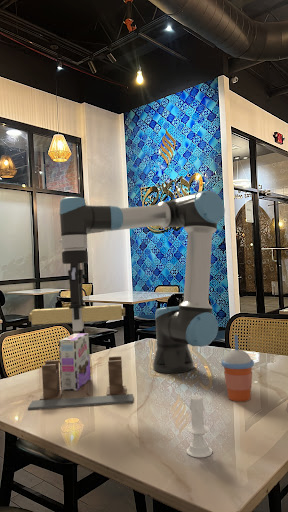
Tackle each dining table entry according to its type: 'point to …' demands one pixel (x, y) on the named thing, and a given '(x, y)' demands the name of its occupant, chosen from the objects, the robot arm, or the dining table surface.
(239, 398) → the cup with straw
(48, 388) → the post
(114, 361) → the post
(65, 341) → the candy box
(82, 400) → the grey plank
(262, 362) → the dining table surface
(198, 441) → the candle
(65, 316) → the rail
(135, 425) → the dining table surface
